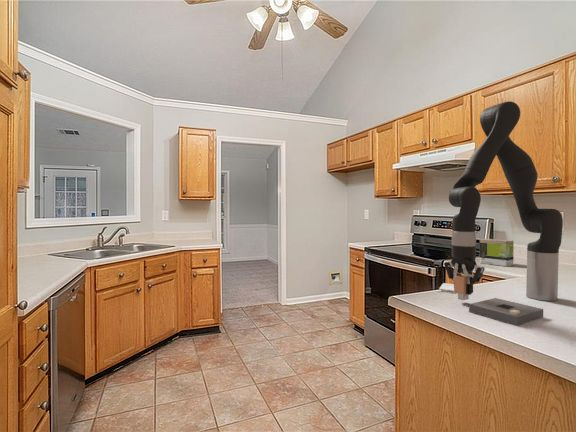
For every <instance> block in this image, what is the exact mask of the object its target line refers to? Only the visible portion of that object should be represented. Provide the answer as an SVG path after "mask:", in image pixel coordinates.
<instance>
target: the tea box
mask: <svg viewBox="0 0 576 432" xmlns="http://www.w3.org/2000/svg"><path fill="white" fill-rule="evenodd" d="M478 257H479V264H484V265H486V264H487V265H493V266H501V267H510V266H513V265H514V240H508V239H495V238H494V239H493V238H484V239H483V238H482V239H479V256H478Z"/></svg>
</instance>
